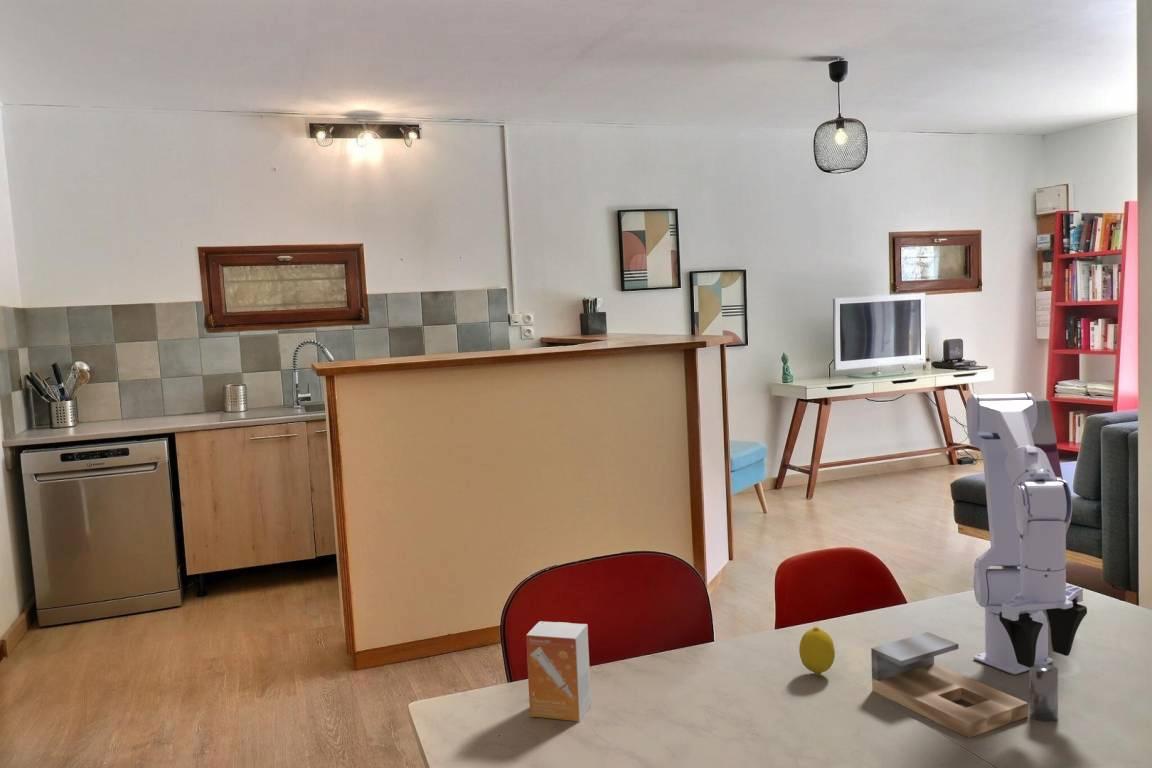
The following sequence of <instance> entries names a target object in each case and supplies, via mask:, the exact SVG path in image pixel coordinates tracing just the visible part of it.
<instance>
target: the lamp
mask: <svg viewBox="0 0 1152 768" xmlns="http://www.w3.org/2000/svg"><path fill="white" fill-rule="evenodd" d="M1035 400H1036V404H1037V423H1036V426H1035V427H1034V430H1033V432H1032V439H1033V442H1034V446H1035V447H1038V448H1040V449H1042V450H1043V451H1044V452H1045V454H1046V455H1047V458H1048V460H1049V462H1050V465H1051V467H1052V469H1053V472H1054V474H1055V476H1056V477H1061V479H1062V480H1064V479H1063V474H1062V468H1061V464H1060V457H1059V450H1058V440H1057V439H1058V438H1057V435H1056V430H1055V423H1054V418H1053V414H1052V408H1051V403H1050V400H1049V399H1045V398H1035ZM1071 520H1072V519H1070V521H1069V522H1066V521H1065V520H1064V523H1065V524H1066V534H1067V532H1068V530H1069V528H1070V524H1071V522H1072V521H1071ZM1042 611H1043V613H1044V615H1045V616H1046V619H1047V621H1049V619H1048V615H1047V612H1046V609H1045V610H1042Z"/></svg>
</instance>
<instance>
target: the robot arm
mask: <svg viewBox="0 0 1152 768" xmlns="http://www.w3.org/2000/svg"><path fill="white" fill-rule="evenodd" d="M1035 399H1036V398H1035V396H1034V395H1032V393H1031V392H1024V393H994V394H993V393H992V394H990V393H989V394H976V393H971V394H970V395H969V396H968V397H967V399H966V405H965V416H966V417H965V418H966V419H965V420H966V429H967V439H968V441H969V445H971V446H972V447H974V448H977V449H978V450H979V451H980V454H981V458H982V461H983V462H982V463H983V474H984V484H985V496H986V509H987V519H988V530H989V531H988V532H989V540H990V541H989V543H990V548H988V549H987V550H986V551H985V552H983V553H982V554H980V555H979V556H978V557H976V559H975V561H974V563H973V568H974V573H973V591H974V592H973V593H974V598H975V601H976V603H977V604H978V606H980V607H981V608H983V609H984V631H985V632H984V635H985V637H984V638H985V643H984V644H985V645H984V646H985V652H982V653H978V654H977V653H976V654H974V655H973V659H974V660H976V661H978V662H981V663H984V664H986V665H988V666H990V667H991V666H992V667H994V668H996V669H999V670H1001V671H1004V672H1006V673H1009V674H1012V675H1018V674H1021V673H1024V672H1027V671H1029V668H1031V667H1033V666H1034V664H1037V663H1041V664H1048V665H1049V664H1051V663H1053V662H1054V659H1053V658H1051V657H1049V630H1050V640H1051V649H1052V652H1055V653H1057V654H1060V655H1062V656H1065V657H1067V656H1070V653H1071V652H1072V651H1071V650H1072V647H1073V643H1074V641H1075V640H1074V639H1075V636H1076V634H1077V631H1078V629H1079V627H1080V625H1081V623H1082V621H1083V619H1085V617H1086V615H1087V614H1088V608H1087V606H1085V605H1083V604H1080V603H1081V602H1083V601H1084V598H1083V597H1084V591H1083V590H1084V588H1082V587H1079V586H1075V585H1072V584H1069V585H1067V581H1066V580H1067V574H1066V573H1067V568H1066V567H1067V557H1066V556H1067V543H1066V542H1067V536H1066V535H1067V533H1066V524H1065V523H1064V520H1065V521H1066V522H1069V521H1070V520H1072V515H1073V499H1072V492H1071V491H1072V490H1071V489H1070V486H1069V484H1068V482H1067V480H1065V479H1063V480H1062V479H1061V477H1056V476H1055V474H1054V472H1053V469H1052V467H1051V465H1050V462H1049V460H1048V458H1047V455H1046V454H1045V452H1044V451H1043V450H1042V449H1040V448H1038V447H1035V446H1034V442H1033V439H1032V432H1033V430H1034V427H1035V426H1036V423H1037V404H1036V400H1035ZM990 567H1019V568H990ZM1045 609H1046V612H1047V615H1048V619H1049V620H1047V619H1046V616H1045V615H1044V613H1043V611H1042V610H1045ZM1048 623H1049V624H1048Z"/></svg>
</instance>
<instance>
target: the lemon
mask: <svg viewBox="0 0 1152 768" xmlns="http://www.w3.org/2000/svg"><path fill="white" fill-rule="evenodd" d="M798 649H799V652H798V653H799V657H800V661H801V663H802V665H803V666H804V667H805V669H807V670H809V672H811V673H814V674H815V676H820V675H822V673H825V672H827V671H828V670H829V669H830V668H831V667H832V665H833V664H834V661H835V656H836V655H835V654H836V653H835V652H836V651H835V646H834V641H833V638H832V637H831V636H830V634H829V633H828V632H827V631H825V630H823V629H821V628H819V627H817V626H814V627H813V628H811V629H808V630H807V631H805V632H804V634H803V635H802V637H801V639H800V641H799V648H798Z"/></svg>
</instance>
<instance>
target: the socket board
mask: <svg viewBox="0 0 1152 768" xmlns="http://www.w3.org/2000/svg"><path fill="white" fill-rule="evenodd" d="M956 650H959V643H957V642H954V641H952V640H950V639H946V638H944V637H941V636H939V635H936V634H933V633H930V632H928V631H927V632H923V633H919V634H916V635H913V636H909V637H906V638H902V639H899V640H895V641H892V642H888V643H885V644H881V645H877V646H874V647H871V648H870V651H871V652H870V653H871V656H870V657H871V686H872V687H871V689H872V691H873V692H874V693H876V694H879V695H881V696H883V697H884V698H886V699H888V700H890V701H892V702H895V703H897V704H899V705H901V706H903V707H905V708H907V709H909V710H911V711H913V712H915V713H918V714H919V715H921V716H924V717H926V718H928V719H929V720H931V721H933V722H936V723H938V724H940V725H941V726H944V727H946V728H948V729H950V730H952V731H953V732H956V733H958V734H960V735H963V736H964V737H966V738H968V739H970V738H972V737H976V736H978V735H981V734H983V733H986V732H987V733H988V732H989V731H992V730H994V729H998V728H1001V727H1002V726H1003V727H1004V726H1006V725H1008V724H1011V723H1014V722H1017V721H1021V720H1022V719H1024V718H1028V717H1029V702H1027V701H1025V700H1022V699H1020V698H1018V697H1015V696H1013V695H1010V694H1009V693H1006V692H1003V691H1001V690H999V689H996V688H994V687H991V686H988V685H987V684H985V683H981V682H979V681H977V680H975V679H972V678H969V677H967V676H965V675H963V674H960V673H957V672H955V671H953V670H950V669H948V668H947V667H946V668H945V667H944V666H941V665H938V664H936V663H935V657H936V656H939V655H943V654H947V653H950V652H952V651H956Z"/></svg>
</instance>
